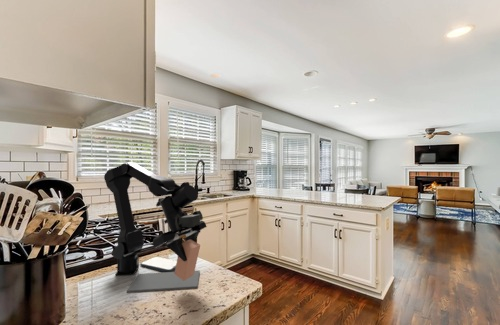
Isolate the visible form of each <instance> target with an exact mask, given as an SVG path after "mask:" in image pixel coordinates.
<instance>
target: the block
mask: <svg viewBox="0 0 500 325" xmlns="http://www.w3.org/2000/svg"><path fill="white" fill-rule="evenodd" d="M182 246H183V248H184V251H185V254H186V258H187V261H185V262H184V261H183V260H182V259H181V258H180V257H179V256H178V255H177V259H176V261H177V264H176V268H175V271H174V272H175V273H174V274H175V275H176V276H178V277H179V278H181V279H182V280H183V281H185V280H186V279H188V278H190V277H191V276H193V275H194V271H196V265H197V261H198V257H199V252H200V248H201V244H200V243H198V242H197V243H196V242H195V241H193V240H191V239H190V240H187V241H185V240H184V241H182Z"/></svg>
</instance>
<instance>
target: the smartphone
mask: <svg viewBox="0 0 500 325" xmlns="http://www.w3.org/2000/svg"><path fill="white" fill-rule="evenodd" d="M176 264H177V259H176V260H175V259H170V258H164V257H161V256H153V257H152V258H149V259H147V260H144V261H142V262H141V263H139V267H141V266H142V267H141V268H145V267H146V269H149V268H150V270H154V271H158V272H160V273H162V272H175V268H176Z"/></svg>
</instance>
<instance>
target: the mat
mask: <svg viewBox="0 0 500 325" xmlns="http://www.w3.org/2000/svg"><path fill="white" fill-rule="evenodd" d="M174 273H175V271H173V272H150V273H149V272H148V273H146V272H145V273H138V274H136V276H135V278H134V279H133V281H132V282H131V283H130V285H129V286H128V287H127V289H126V293H139V292H140V293H141V292H142V293H143V292H154V291H155V292H158V291H169V290H170V291H171V290H187V289H198V287H199V286H198V285H199V279H200V270H195V271H194V275H193V276H191V277H190V278H188V279H186V280H185V281H183V280H182V279H181V278H179V277H178V276H176V275H175V274H174Z"/></svg>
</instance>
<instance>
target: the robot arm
mask: <svg viewBox="0 0 500 325" xmlns="http://www.w3.org/2000/svg"><path fill="white" fill-rule="evenodd" d="M103 176H104V177H103V179H104V182H105V184H106V187H107V189H109V191H110V192H111V193H112V194H113V199H114V203H115V204H114V205H115V209H116V213H117V218H118V224H119V229H120V231H119V234H118V237H117V239H116V240H117V245H116V246H115V248H114V249H113V250H112V257H113V258H114V259H116V261H117V262H116V268H117V271H116V272H115V276H127V275H128V276H129V275H135V274H136V272H137V271H138V269H139V268H140V257H139V256H138V254H140V253H142V250H143V246H144V244H145V243H144V241H145V237H144V236H143V230H142V229H138V227H136V226H135V220H134V215H133V210H132V207H131V201H130V196H129V195H130V194H129V191H128V189H129V188H130V185H131V179H132V178H134V179H136V180H138V181H139V182H140V183H142V184H143V185H145V186H147V188H148V189H147V190H148V191H149V192H150V193H151V194H152V195H154V196H155V197H157V198H158V197H161V198H158V200H157V202H156V204H155V206H156V207H161V209H162V212H163V215H164V217H165V220H164V224H165V225H166V224H167V225H168V228H169V229H170V230H169V231H166V232H163V233H160V234H158V236H156V237H154V238H153V240H152V245H153V248H154V249H157V248H160V247H162V246H164V248H168V249H169V250H170V251H172V252H173V253H174V254H175V255H177V257H178V256H179V257H180V258H181V259H182V260H183V261H184V262H185V261H187V258H186V254H185V251H184V248H183V246H182V242H183V240H184V242H185V241H187V240H190V239H191V240H193V241H195V242H196V243H198V237H199V234H200V233H201V231H202V230H204V229H205V228H207V227H208V226H207V224H206V222H205V221H204V220H203V219H204V218H203V213H202V212H201V210H195V211H193V213H192V214H188V212H187V211H183V209H184V208H185V207H187V206H188V205H190V204H192V203H194V202H195V201H196V200H198V199H199V193H198V190H197V189H196V188H195V187H194V185H191V184H190V183H189V181H185V182H183V183H181V184H180V185H179V184H177V183H176V182H175V180H174V179H173V178H171V177H166V176H162V175H158V174H155V173H154V172H151V171H150V170H148V169H146V168H145V167H142V166H140V165H139V164H138V163H137V162H124V163H122V164H121V165H118V166H116V167H113V168H111V169H108V170H107V171H106V172H105V173H104V175H103ZM163 196H164V197H163ZM182 208H183V209H182ZM182 236H185V237H184V238H183V237H182ZM165 243H166V244H165ZM164 244H165V245H164Z"/></svg>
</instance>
